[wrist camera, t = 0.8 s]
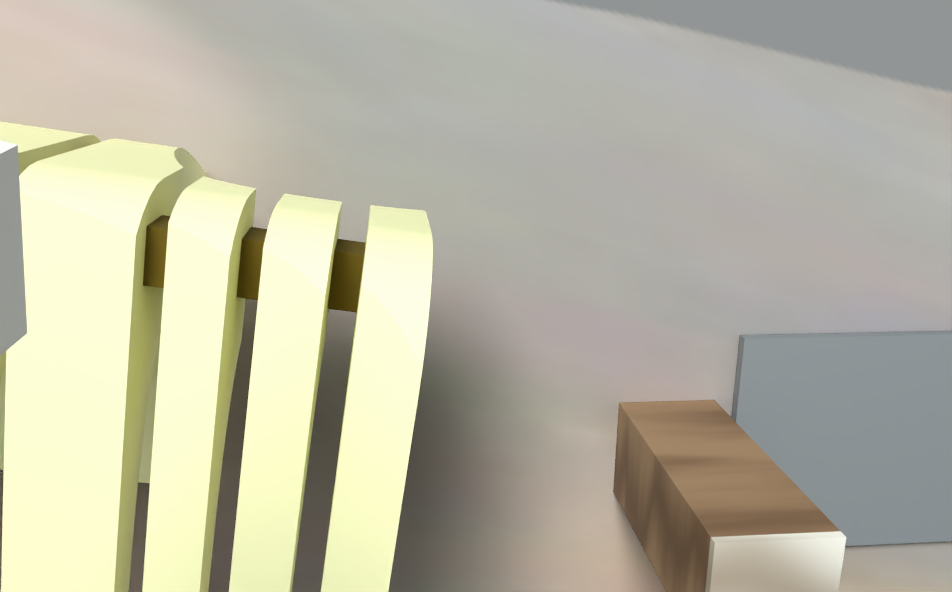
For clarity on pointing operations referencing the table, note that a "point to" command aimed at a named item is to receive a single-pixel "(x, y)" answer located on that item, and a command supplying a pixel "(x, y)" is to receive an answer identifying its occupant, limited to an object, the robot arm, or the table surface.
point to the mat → (856, 426)
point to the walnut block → (718, 505)
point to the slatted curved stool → (196, 372)
